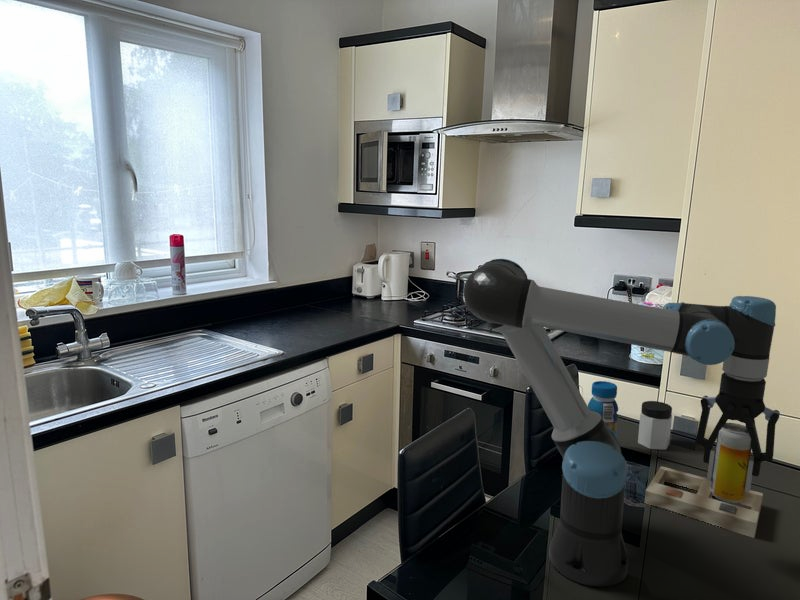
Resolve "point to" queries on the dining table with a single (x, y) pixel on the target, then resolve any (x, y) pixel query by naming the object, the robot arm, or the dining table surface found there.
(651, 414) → the jar
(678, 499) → the socket board
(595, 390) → the beverage bottle
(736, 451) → the beer can
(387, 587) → the dining table surface
